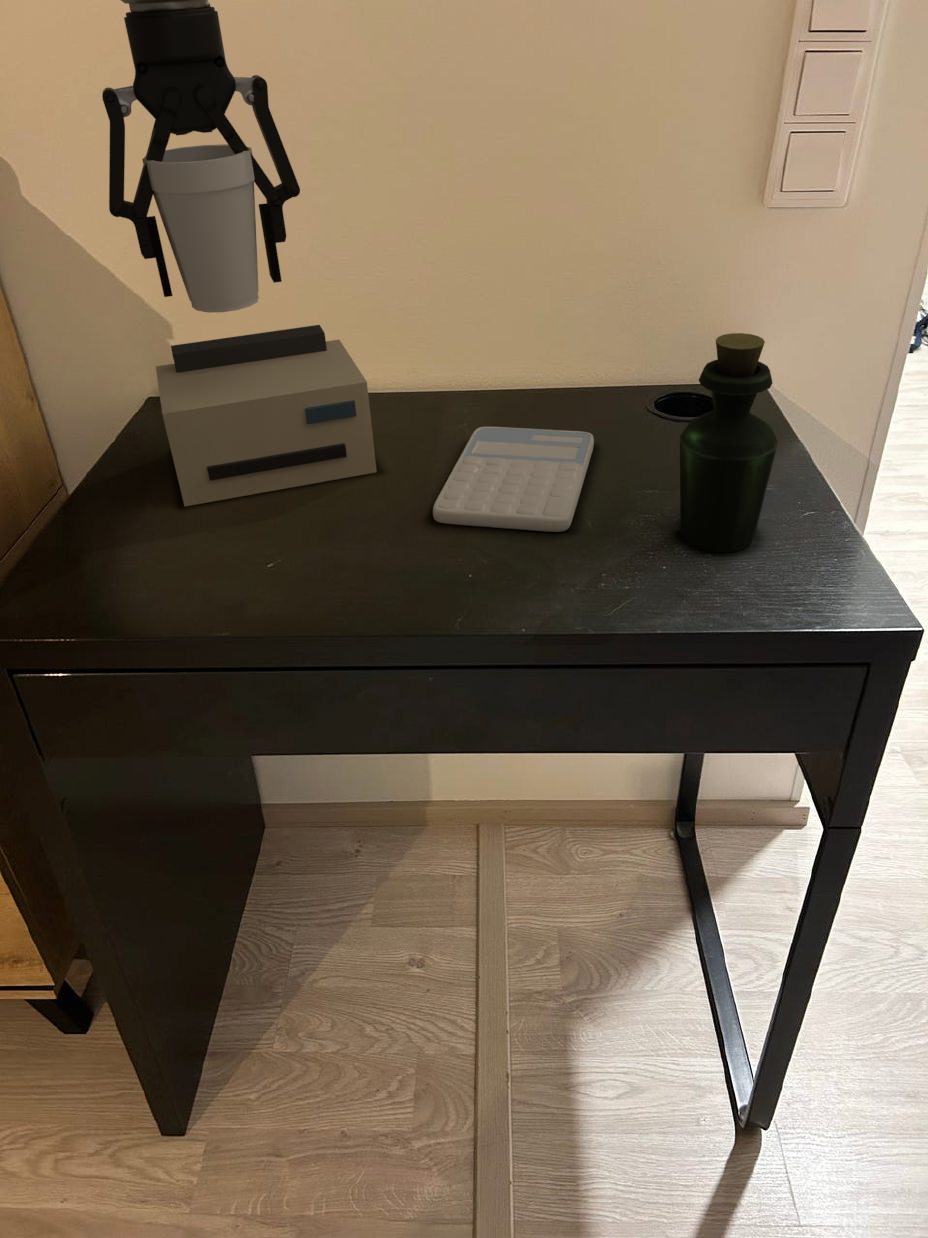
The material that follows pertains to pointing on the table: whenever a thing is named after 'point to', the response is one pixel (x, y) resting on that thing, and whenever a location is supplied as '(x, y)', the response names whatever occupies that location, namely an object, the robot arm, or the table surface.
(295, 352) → the printer
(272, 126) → the robot arm
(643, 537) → the table surface
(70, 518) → the table surface
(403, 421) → the table surface
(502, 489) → the calculator
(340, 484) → the table surface
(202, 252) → the foam cup
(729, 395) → the potion bottle
